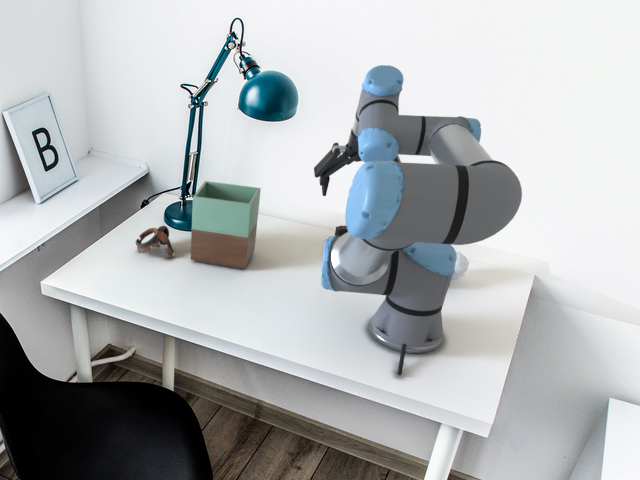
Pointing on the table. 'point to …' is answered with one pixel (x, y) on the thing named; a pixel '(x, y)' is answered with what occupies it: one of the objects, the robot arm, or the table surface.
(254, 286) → the table surface
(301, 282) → the table surface
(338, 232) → the ink cartridge
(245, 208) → the box
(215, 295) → the table surface
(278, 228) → the table surface
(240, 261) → the bottom basket
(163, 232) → the brown headphones
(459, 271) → the puffin
